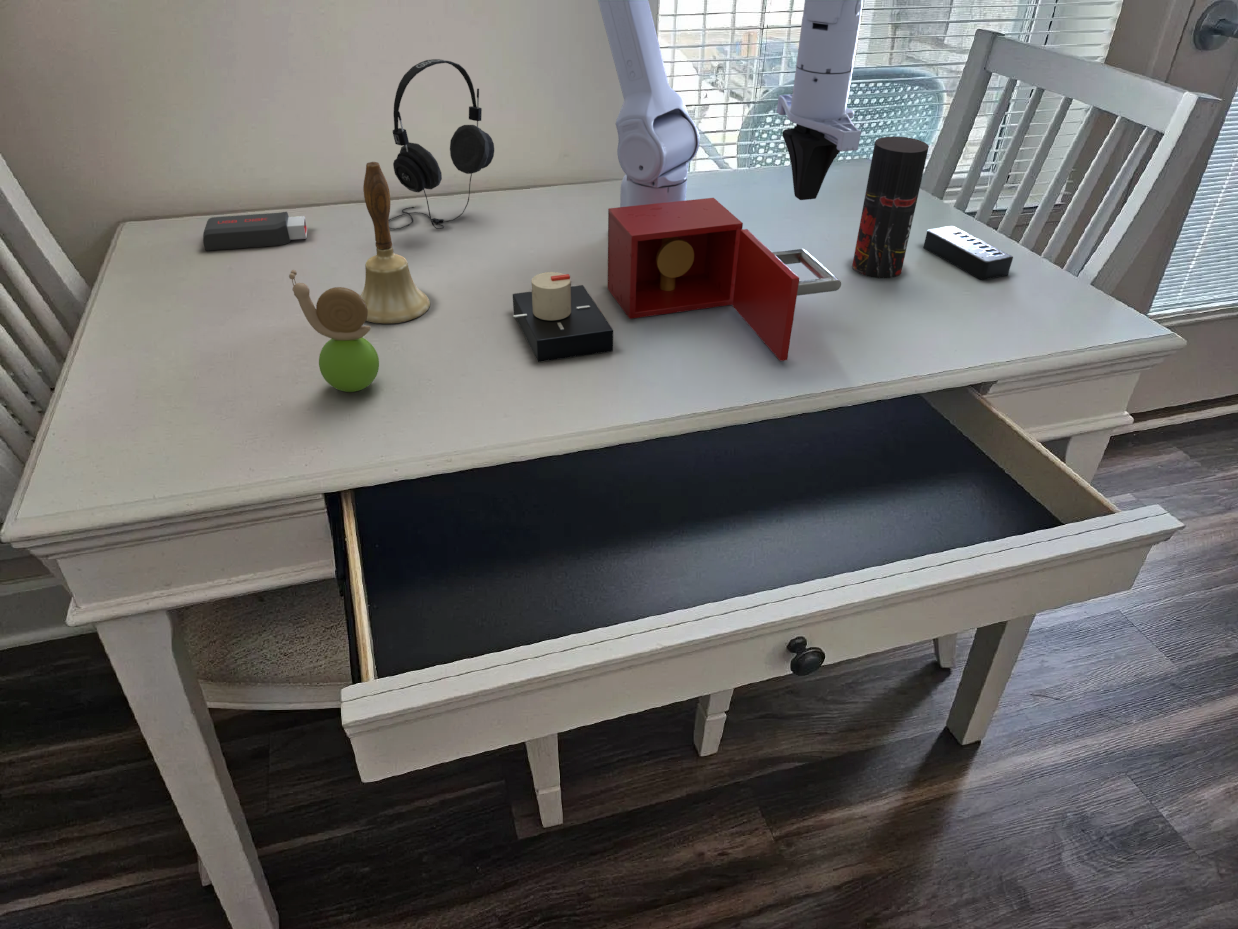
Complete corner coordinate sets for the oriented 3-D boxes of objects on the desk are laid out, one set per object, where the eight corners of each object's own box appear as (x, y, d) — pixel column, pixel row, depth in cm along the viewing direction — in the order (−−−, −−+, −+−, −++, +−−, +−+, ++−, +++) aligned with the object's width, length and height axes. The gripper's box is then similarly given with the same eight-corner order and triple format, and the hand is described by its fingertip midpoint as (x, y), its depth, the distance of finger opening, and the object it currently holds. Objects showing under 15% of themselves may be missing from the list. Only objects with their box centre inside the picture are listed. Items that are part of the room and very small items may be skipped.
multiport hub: (981, 280, 107) (987, 262, 106) (921, 246, 115) (925, 229, 114) (1009, 274, 109) (1015, 256, 107) (948, 241, 117) (952, 224, 115)
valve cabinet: (607, 288, 104) (608, 208, 98) (707, 275, 107) (713, 197, 101) (629, 319, 98) (631, 235, 92) (734, 304, 101) (743, 222, 95)
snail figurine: (319, 374, 87) (295, 258, 80) (386, 372, 88) (367, 257, 81) (308, 404, 83) (281, 285, 76) (378, 402, 83) (358, 283, 76)
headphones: (447, 193, 128) (432, 41, 116) (506, 211, 123) (497, 54, 111) (366, 224, 118) (341, 62, 106) (427, 245, 113) (407, 77, 101)
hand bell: (443, 297, 101) (427, 155, 92) (406, 329, 95) (385, 181, 85) (379, 285, 103) (357, 145, 94) (338, 316, 97) (311, 170, 87)
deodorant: (902, 280, 107) (930, 154, 98) (852, 275, 108) (875, 150, 99) (900, 260, 112) (927, 138, 103) (852, 256, 112) (874, 134, 103)
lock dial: (538, 323, 91) (536, 287, 89) (528, 306, 94) (527, 271, 92) (575, 317, 92) (575, 283, 90) (565, 301, 95) (564, 267, 93)
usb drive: (210, 234, 114) (205, 213, 113) (307, 227, 117) (303, 207, 115) (205, 250, 110) (199, 229, 109) (306, 243, 113) (302, 222, 111)
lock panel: (503, 315, 98) (502, 293, 96) (583, 305, 100) (583, 283, 99) (527, 364, 90) (525, 340, 88) (613, 351, 92) (613, 328, 90)
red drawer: (780, 361, 90) (792, 278, 85) (732, 306, 100) (740, 229, 94) (830, 354, 91) (845, 272, 86) (778, 300, 101) (788, 224, 96)
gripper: (896, 82, 87) (870, 216, 95) (824, 49, 98) (806, 173, 106) (832, 86, 85) (811, 223, 93) (766, 53, 96) (752, 178, 104)
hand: (805, 197), depth 100 cm, fingers closed
